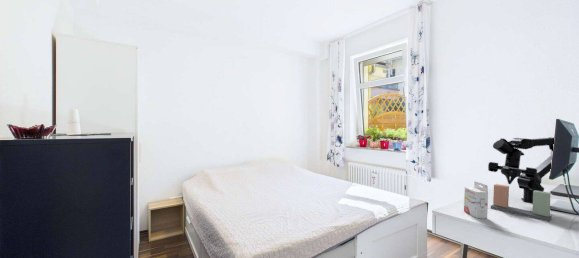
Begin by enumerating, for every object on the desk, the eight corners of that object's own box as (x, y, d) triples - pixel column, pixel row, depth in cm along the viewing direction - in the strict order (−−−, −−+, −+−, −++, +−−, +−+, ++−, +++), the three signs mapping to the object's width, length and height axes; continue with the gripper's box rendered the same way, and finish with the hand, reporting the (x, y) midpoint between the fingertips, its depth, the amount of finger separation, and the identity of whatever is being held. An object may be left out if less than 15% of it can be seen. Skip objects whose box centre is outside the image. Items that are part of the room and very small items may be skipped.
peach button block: (495, 203, 124) (496, 183, 124) (508, 205, 120) (509, 185, 120) (493, 204, 122) (493, 184, 121) (506, 207, 118) (507, 187, 117)
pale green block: (534, 211, 113) (535, 189, 113) (550, 214, 109) (550, 192, 109) (532, 213, 110) (533, 191, 110) (548, 216, 106) (549, 193, 106)
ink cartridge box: (463, 211, 116) (463, 180, 115) (473, 211, 116) (474, 180, 115) (476, 218, 107) (477, 185, 107) (488, 218, 107) (489, 185, 107)
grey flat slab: (494, 205, 125) (494, 203, 125) (551, 218, 109) (551, 215, 109) (490, 208, 121) (490, 205, 121) (549, 221, 105) (549, 218, 105)
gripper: (535, 169, 130) (533, 196, 123) (490, 163, 143) (486, 186, 136) (538, 158, 123) (535, 185, 117) (490, 152, 136) (486, 176, 130)
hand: (509, 183), depth 125 cm, fingers closed
